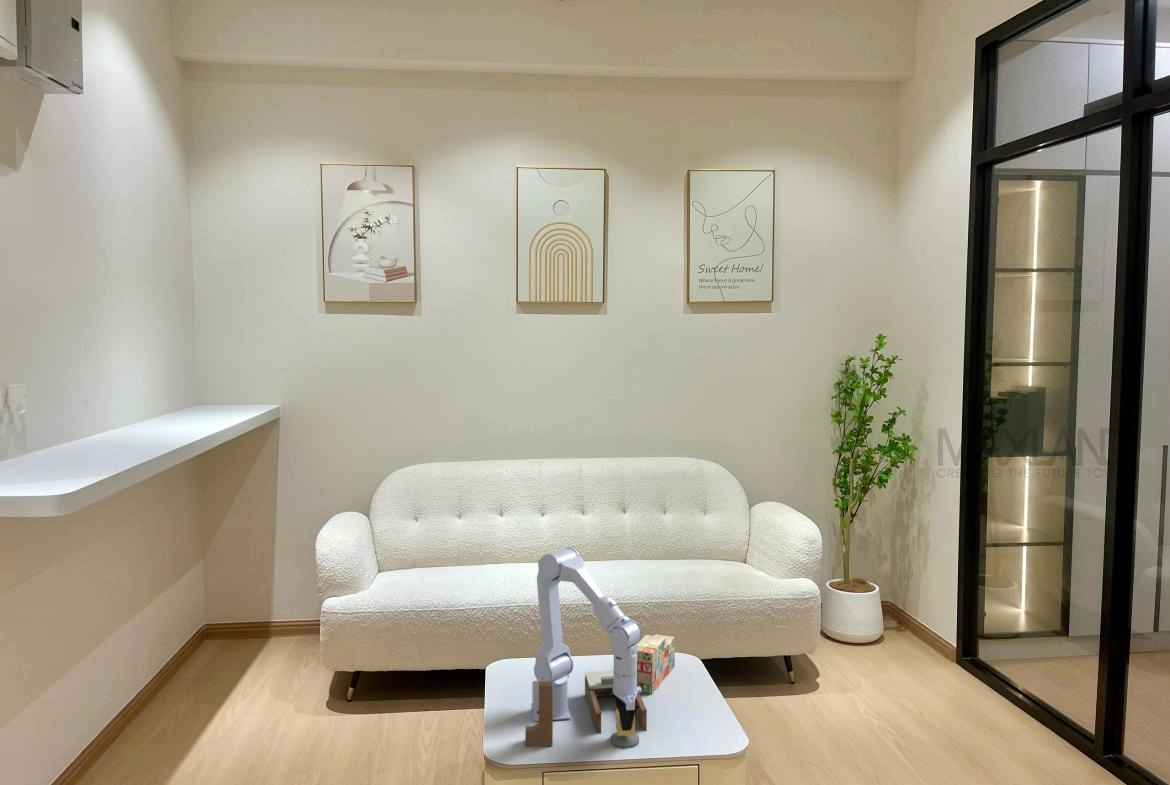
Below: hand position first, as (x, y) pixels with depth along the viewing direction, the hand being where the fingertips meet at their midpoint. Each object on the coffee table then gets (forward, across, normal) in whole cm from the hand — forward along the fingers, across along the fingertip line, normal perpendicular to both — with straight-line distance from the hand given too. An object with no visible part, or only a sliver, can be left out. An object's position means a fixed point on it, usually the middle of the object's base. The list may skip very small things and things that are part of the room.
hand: (624, 725), depth 197 cm
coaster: (+4, 0, 0) cm, 4 cm away
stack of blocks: (+4, +35, -15) cm, 38 cm away
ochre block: (+2, 0, 0) cm, 2 cm away
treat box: (+4, +16, 0) cm, 16 cm away
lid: (-2, +22, 0) cm, 22 cm away
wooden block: (+4, +2, +21) cm, 21 cm away
